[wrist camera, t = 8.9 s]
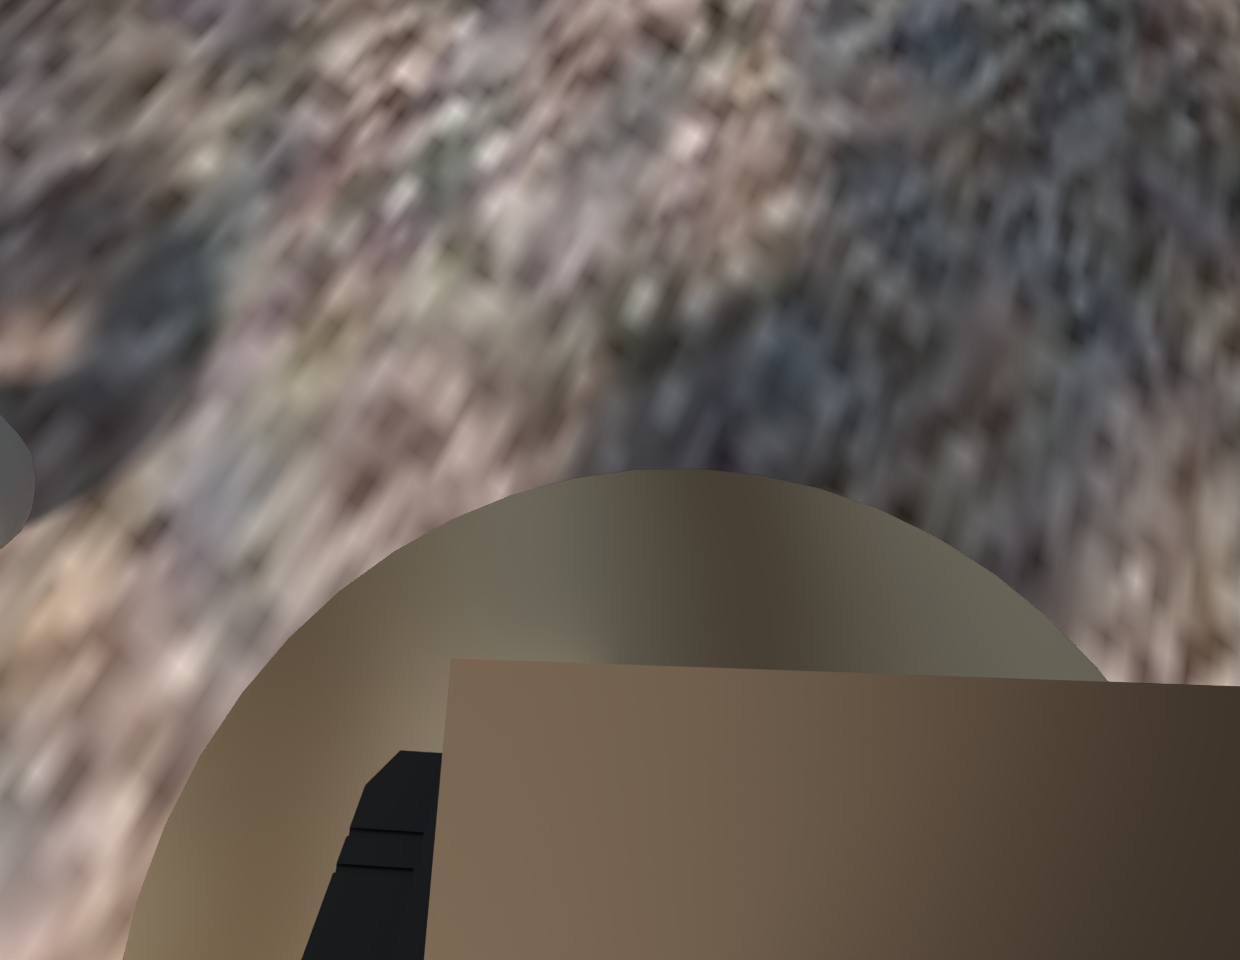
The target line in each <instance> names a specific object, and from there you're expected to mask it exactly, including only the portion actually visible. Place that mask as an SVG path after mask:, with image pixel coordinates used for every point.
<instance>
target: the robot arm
mask: <svg viewBox="0 0 1240 960" xmlns="http://www.w3.org/2000/svg"><path fill="white" fill-rule="evenodd" d="M441 764H442V753H435V752H420V751H405V750H400V751H399V752H398V753H397V754H396V755H395V756H394V757H393V758H392V759H391V760H390V761H389V762H388V763H387V764H386V765H385V766H384V767H383V768H382V769H381V770H380V771H379V772H378V773H377V774H376V775H375V776H374V777H373V778H372V779H371V780H370V781H369V782H368V783H367V784H366V785H365V787H364V789H363V792H362V795H361V798H360V800H359V803H358V806H357V809H356V811H355V814H354V817H353V820H352V822H351V825H350V830H349V836H346V839H345V841H344V844H343V847H342V850H341V852H340V855H339V858H338V860H337V863H336V871H335V873H333V874H332V877H331V880H330V882H329V885H328V888H327V891H326V893H325V896H324V899H323V901H322V904H321V907H320V910H319V912H318V915H317V918H316V921H315V923H314V926H313V929H312V932H311V934H310V937H309V940H308V942H307V945H306V948H305V951H304V953H303V956H302V959H301V960H424V954H425V943H426V931H427V920H428V909H429V898H430V887H431V876H432V864H433V853H434V842H435V831H436V820H437V808H438V797H439V786H440V775H441Z"/></svg>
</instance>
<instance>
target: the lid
mask: <svg viewBox="0 0 1240 960" xmlns="http://www.w3.org/2000/svg"><path fill="white" fill-rule="evenodd" d="M400 750H405V751H420V752H435V753H442V764H441V775H440V786H439V797H438V808H437V820H436V831H435V842H434V853H433V864H432V876H431V887H430V898H429V909H428V920H427V931H426V943H425V954H424V960H1240V686H1212V685H1184V684H1156V683H1128V682H1108V681H1107V680H1106V679H1105V677H1104V676H1103V675H1102V673H1101V672H1100V671H1099V670H1098V668H1097V667H1096V666H1095V665H1094V664H1093V663H1092V662H1091V661H1090V660H1089V659H1088V658H1087V657H1086V656H1085V655H1084V654H1083V653H1082V652H1081V651H1080V650H1079V649H1078V648H1077V647H1076V646H1075V645H1074V644H1073V643H1072V642H1071V641H1070V640H1069V639H1068V638H1067V637H1066V636H1065V635H1064V634H1063V633H1062V632H1061V630H1060V629H1059V628H1058V627H1057V626H1056V625H1055V624H1054V623H1053V622H1052V621H1051V620H1050V619H1049V618H1048V617H1047V616H1045V615H1044V614H1043V613H1042V612H1040V611H1039V610H1038V609H1037V608H1036V607H1034V606H1033V605H1032V604H1031V603H1029V602H1028V601H1027V600H1026V599H1024V598H1023V597H1022V596H1021V595H1020V594H1018V593H1017V592H1016V591H1015V590H1013V589H1012V588H1011V587H1010V586H1008V585H1007V584H1006V583H1005V582H1004V581H1002V580H1001V579H1000V578H999V577H997V576H996V575H995V574H994V573H992V572H990V571H989V570H987V569H986V568H984V567H983V566H981V565H979V564H978V563H976V562H975V561H973V560H972V559H970V558H969V557H967V556H965V555H964V554H962V553H961V552H959V551H958V550H956V549H954V548H953V547H951V546H950V545H948V544H947V543H945V542H944V541H942V540H940V539H939V538H937V537H935V536H933V535H931V534H929V533H927V532H925V531H923V530H921V529H919V528H917V527H914V526H912V525H910V524H908V523H906V522H904V521H902V520H900V519H898V518H896V517H894V516H892V515H890V514H888V513H886V512H884V511H882V510H880V509H877V508H874V507H871V506H868V505H865V504H863V503H860V502H857V501H854V500H851V499H848V498H845V497H843V496H840V495H837V494H834V493H831V492H828V491H826V490H823V489H820V488H816V487H811V486H807V485H802V484H798V483H793V482H789V481H784V480H780V479H775V478H771V477H766V476H762V475H756V474H746V473H736V472H726V471H716V470H706V469H651V470H629V471H623V472H616V473H609V474H602V475H595V476H588V477H581V478H574V479H569V480H566V481H562V482H558V483H555V484H551V485H547V486H544V487H540V488H536V489H533V490H529V491H525V492H522V493H518V494H514V495H511V496H508V497H506V498H503V499H501V500H498V501H496V502H493V503H491V504H489V505H486V506H484V507H481V508H479V509H476V510H474V511H471V512H469V513H466V514H464V515H462V516H459V517H457V518H454V519H452V520H450V521H448V522H446V523H444V524H443V525H441V526H439V527H437V528H436V529H434V530H432V531H430V532H428V533H427V534H425V535H423V536H421V537H419V538H418V539H416V540H414V541H412V542H410V543H409V544H407V545H405V546H403V547H401V548H400V549H398V550H396V551H394V552H393V553H391V554H390V555H389V556H387V557H386V558H385V559H383V560H382V561H380V562H379V563H378V564H376V565H375V566H374V567H372V568H371V569H369V570H368V571H367V572H365V573H364V574H363V575H361V576H360V577H358V578H357V579H356V580H354V581H353V582H352V583H350V584H349V585H347V586H346V587H345V588H343V589H342V590H341V591H339V592H338V593H337V594H336V595H335V596H334V597H333V598H332V599H331V600H330V601H329V602H327V603H326V604H325V605H324V606H323V607H322V608H321V609H320V610H319V611H318V612H317V613H316V614H315V615H313V616H312V617H311V618H310V619H309V620H308V621H307V622H306V623H305V624H304V625H303V626H302V627H300V628H299V629H298V630H297V631H296V632H295V633H294V634H293V635H292V636H291V637H290V638H289V639H288V640H287V641H286V642H285V643H284V645H283V646H282V647H281V648H280V649H279V650H278V652H277V653H276V654H275V655H274V656H273V657H272V659H271V660H270V661H269V662H268V663H267V665H266V666H265V667H264V668H263V669H262V670H261V672H260V673H259V674H258V675H257V676H256V677H255V679H254V680H253V681H252V682H251V683H250V684H249V686H248V687H247V688H246V689H245V690H244V692H243V693H242V694H241V696H240V697H239V699H238V700H237V702H236V703H235V705H234V706H233V708H232V709H231V711H230V712H229V714H228V715H227V717H226V718H225V720H224V721H223V723H222V724H221V726H220V727H219V729H218V730H217V732H216V733H215V735H214V736H213V738H212V739H211V741H210V742H209V744H208V745H207V747H206V748H205V750H204V751H203V753H202V754H201V756H200V758H199V760H198V762H197V763H196V765H195V767H194V769H193V771H192V773H191V775H190V777H189V779H188V781H187V783H186V785H185V787H184V789H183V791H182V793H181V795H180V797H179V799H178V801H177V803H176V805H175V807H174V809H173V810H172V812H171V814H170V816H169V818H168V820H167V822H166V824H165V827H164V830H163V832H162V835H161V838H160V840H159V843H158V846H157V848H156V851H155V854H154V856H153V859H152V862H151V864H150V867H149V870H148V872H147V875H146V878H145V881H144V883H143V886H142V889H141V891H140V894H139V897H138V899H137V903H136V907H135V911H134V915H133V920H132V924H131V928H130V932H129V936H128V940H127V944H126V948H125V952H124V956H123V960H301V959H302V956H303V953H304V951H305V948H306V945H307V942H308V940H309V937H310V934H311V932H312V929H313V926H314V923H315V921H316V918H317V915H318V912H319V910H320V907H321V904H322V901H323V899H324V896H325V893H326V891H327V888H328V885H329V882H330V880H331V877H332V874H333V873H335V871H336V863H337V860H338V858H339V855H340V852H341V850H342V847H343V844H344V841H345V839H346V836H349V830H350V825H351V822H352V820H353V817H354V814H355V811H356V809H357V806H358V803H359V800H360V798H361V795H362V792H363V789H364V787H365V785H366V784H367V783H368V782H369V781H370V780H371V779H372V778H373V777H374V776H375V775H376V774H377V773H378V772H379V771H380V770H381V769H382V768H383V767H384V766H385V765H386V764H387V763H388V762H389V761H390V760H391V759H392V758H393V757H394V756H395V755H396V754H397V753H398V752H399V751H400Z"/></svg>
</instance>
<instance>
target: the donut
mask: <svg viewBox="0 0 1240 960" xmlns="http://www.w3.org/2000/svg"><path fill="white" fill-rule="evenodd" d="M35 479H36V473H35V469H34V464H33V460H32V455H31V452H30V451H29V449H28V448H27V446H26V445H25V443H24V442H23V440H22V439H21V437H20V436H19V434H18V433H17V432H16V431H15V430H14V429H13V428H12V427H11V426H10V425H9V424H8V422H7V421H6V420H5V419H4V418H3V417H2V416H1V415H0V549H1V548H3V547H4V546H5V545H6V544H8V543H9V542H10V541H11V540H12V539H13V538H14V537H15V536H16V535H17V534H19V533H20V532H21V530H22V528H23V527H24V525H25V523H26V521H27V519H28V518H29V516H30V514H31V512H32V506H33V499H34V493H35Z"/></svg>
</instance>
